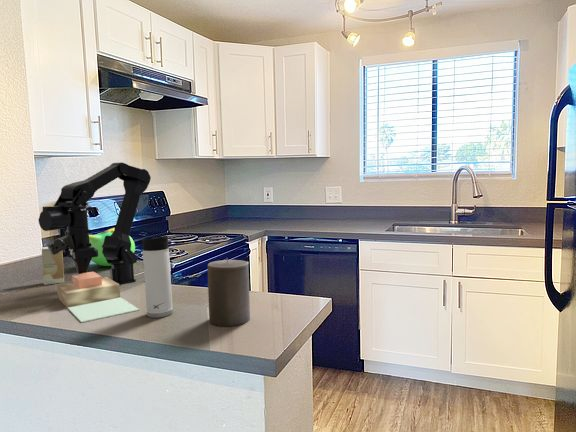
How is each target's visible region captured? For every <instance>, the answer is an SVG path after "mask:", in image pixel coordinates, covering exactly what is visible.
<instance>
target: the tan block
mask: <svg viewBox="0 0 576 432" xmlns="http://www.w3.org/2000/svg"><path fill="white" fill-rule="evenodd" d="M101 278H102V285H99V286H93V287H87V288H82V289H79V288H78V287H77V286H75V285H74V284H73V283H72V282H66V283H59V284H57V285H56V288H57V289H56V290H57V300H59V301H60V302H61V304H63V305H64V307H66V308H67V309H68V307H73V306H78V305H83V304H88V303H94V302H99V301H104V300H109V299H114V298H120V297H121V288H120V284H118V283H116V282H115V281H113V280H111V278H109V277H107V276H104V277H101Z"/></svg>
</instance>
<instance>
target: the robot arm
mask: <svg viewBox="0 0 576 432" xmlns="http://www.w3.org/2000/svg"><path fill="white" fill-rule="evenodd" d="M117 179H119V180H120V181H123V188H124V196H123V200H122V202H121V205H120V210H119V212H118V217H117V220H116V223H115V226H114V228H115V229H114V232H113V233H112V234H111V236H105V239H104V243H103V245H102V248H103V250H102V253H103V255H104V257H105V258H106V261H107V263H108V264H111V266H110V267H111V268H109V276H110V278H109V279H111V280H113V281H115V282H116V283H118V284H119V285H120V284H128V283H133V282H137V279H135V273H134V264H136V263H137V261H138V255H137V254H135V252H134V253H133V252H132V251H131V241H130V237H131V236H130V233H131V231H132V226H133V223H134V219H135V216H136V212H137V209H138V205H139V202H140V197H141V196H142V194H143V193H145V191H146V190H147V189H148V187H149V184H150V182H151V174H150V172H149V171H148V170H147V169H143V168H139V167H136V166H134V165H133V166H132V165H130V164H128V163H125V162H121V161H120V162H113V163H111V164H110V165H108V166H107V167H105V168H103V169H102V170H100V171H98V172H96V173H95V174H93V175H91V176H89V177H87V178H86V179H84V180H80V181H75V182H71V183H69V184H66V185H64V186H62V187H61V189H60V194H59V195H58V198H57V200H56V201H55V203H54V205H53V206H49V205H48V206H42V211H41V212H40V214H39V217H38V224H39V226H40V229H42V231H44V232H48V231H49V232H50V231H56V230H62V229H63V230H64V229H66V230H65V231H64V236H62V237H57V238H56V239H53V240H52V241H49V242H47V243H46V247H48V249H49V251H50V252H51V254H52V255H55V254H57V253H59V252H60V251H62V252H63V253H64V254H65V253H66V254H67V253H68V252H69V254H67V256H66V257H68V258H70V259H71V260H72V261H73V262H74V266H75V268H76V271H77V274H81V273H87V271H88V268H89V266H90V264H91V262H92V261H91V259H92V257H98V250H97V249H96V248H94V247H92V246H91V243H90V242H89V235H90V234H91V229H90V228H89V219H88V218H89V217H88V211H93V210H94V207H93V206H91V205H90V204H89V203H88V201H90V199H92V198H93V197H94V196H95V193H96V192H97V191H98V190H99V189H101V188H103V187H104V186H106V185H108V184H110V183H112V182H113V181H115V180H117ZM129 236H130V237H129Z"/></svg>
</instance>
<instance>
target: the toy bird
mask: <svg viewBox="0 0 576 432" xmlns="http://www.w3.org/2000/svg"><path fill="white" fill-rule="evenodd" d="M114 229H115V227H112V228H109V229H107V230H104V231H101V232H98V233H97V234H89V242H90V243H91V246H92V247H94V248H96V249H97V250H98V257H92V259H91V261H90V262H92V263H94V264H96V265H99V266H103V267H111V264H108V263H107V261H106V258H105V257H104V255H103V253H102V250H103V248H102V245H103V243H104V239H105V236H111V234H112V233H113V232H114ZM129 237H130V241H131V251H132V252H133V253H134V254H135V251H136V244H135V241H134V240H133V238H132V237H131V236H130V235H129Z"/></svg>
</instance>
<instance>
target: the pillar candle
mask: <svg viewBox="0 0 576 432" xmlns="http://www.w3.org/2000/svg"><path fill="white" fill-rule="evenodd" d="M249 277H250V273H249V261H245V260H241V259H240V260H239V259H228V257H226V259H223V260H215V261H211V262H209V263H208V264H207V294H208V316H209V323H210V324H211V325H213V326H218V327H224V328H225V327H236V326H239V325H243V324H246V323H248V322H249V321H250V320H251V306H250V302H251V301H250V278H249Z"/></svg>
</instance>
